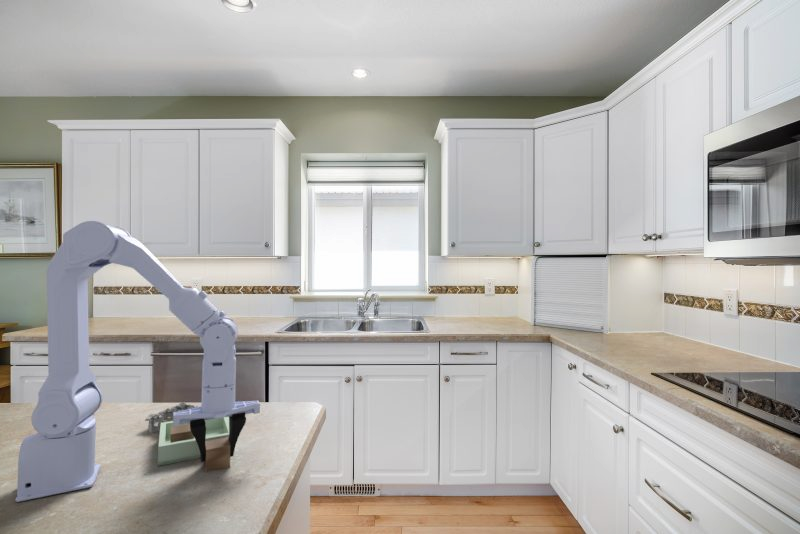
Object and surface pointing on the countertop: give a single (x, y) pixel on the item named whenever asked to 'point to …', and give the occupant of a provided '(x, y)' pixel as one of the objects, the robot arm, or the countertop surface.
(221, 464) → the block
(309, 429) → the countertop surface
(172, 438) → the block
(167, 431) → the dish
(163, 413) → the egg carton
